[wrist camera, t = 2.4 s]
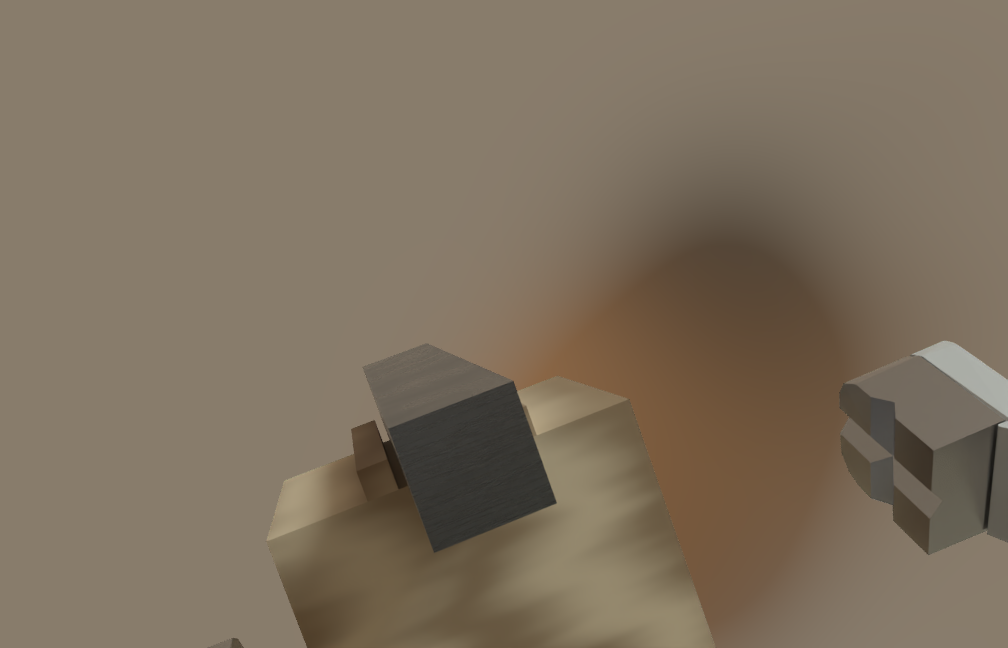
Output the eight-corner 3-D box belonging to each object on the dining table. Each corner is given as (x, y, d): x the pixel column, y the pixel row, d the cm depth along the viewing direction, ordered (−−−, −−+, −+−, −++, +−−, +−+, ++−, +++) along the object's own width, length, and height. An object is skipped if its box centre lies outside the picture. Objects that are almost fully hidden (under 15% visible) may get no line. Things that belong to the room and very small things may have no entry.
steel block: (434, 552, 21) (388, 428, 21) (386, 430, 42) (362, 367, 42) (556, 503, 22) (513, 380, 22) (449, 406, 42) (426, 343, 42)
